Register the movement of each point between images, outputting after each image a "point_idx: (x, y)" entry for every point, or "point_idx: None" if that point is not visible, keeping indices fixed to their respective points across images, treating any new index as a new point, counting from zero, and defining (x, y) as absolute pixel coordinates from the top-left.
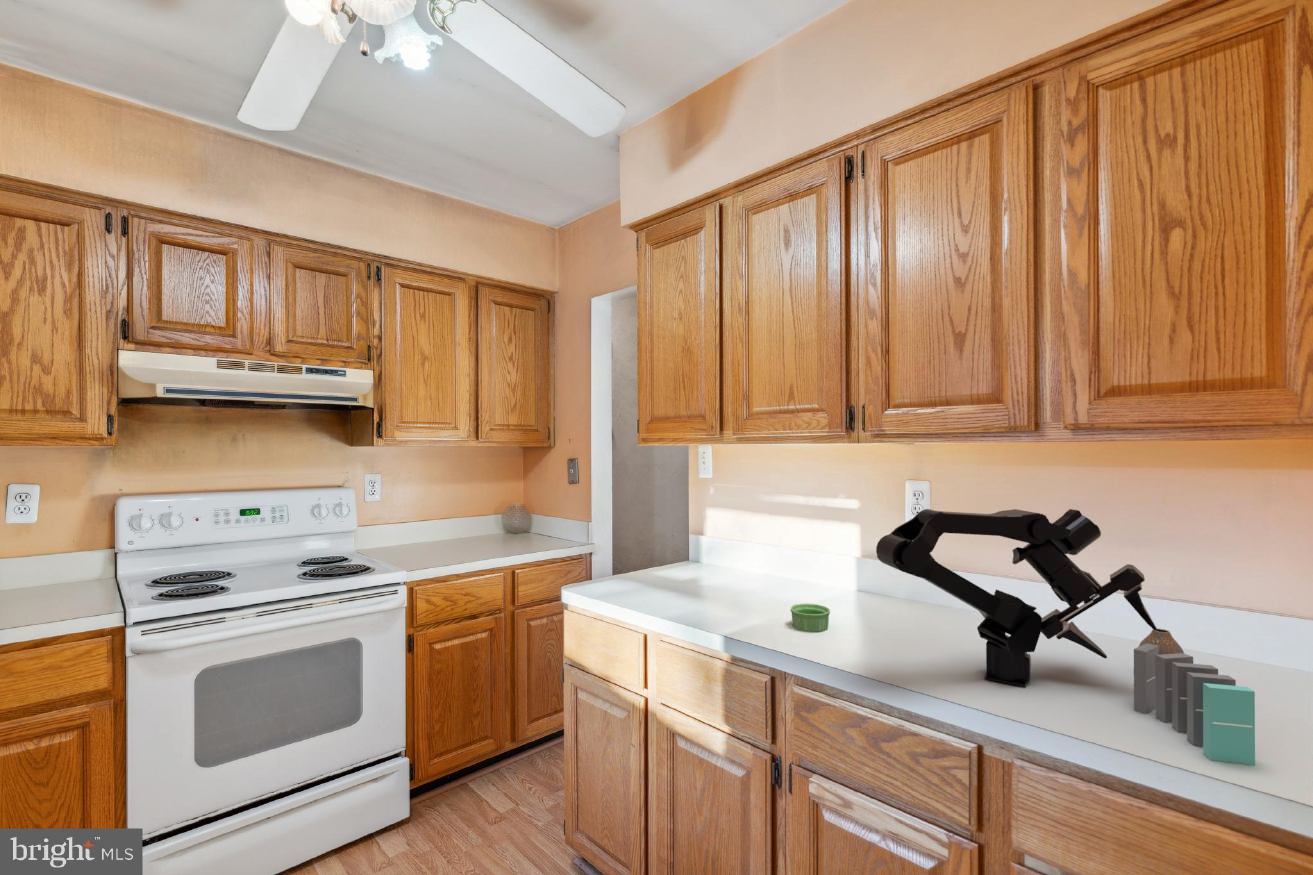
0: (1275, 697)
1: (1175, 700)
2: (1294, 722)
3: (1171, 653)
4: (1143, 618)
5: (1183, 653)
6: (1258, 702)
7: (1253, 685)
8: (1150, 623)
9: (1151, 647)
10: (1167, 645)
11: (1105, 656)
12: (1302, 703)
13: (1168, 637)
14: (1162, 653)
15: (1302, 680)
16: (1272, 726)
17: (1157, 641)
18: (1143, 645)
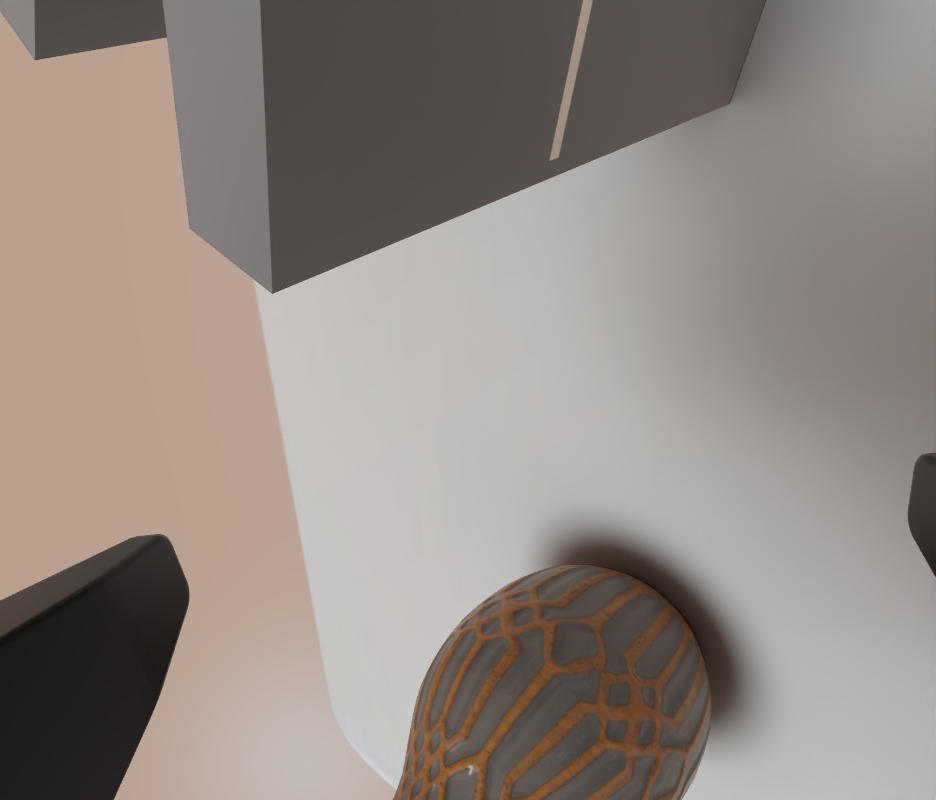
0: (331, 486)
1: None
2: None
3: (457, 659)
4: (16, 629)
5: (29, 46)
6: (349, 413)
7: (383, 590)
8: (72, 571)
9: (190, 87)
10: (442, 719)
11: (933, 455)
12: (285, 453)
13: (406, 781)
14: (499, 669)
15: (321, 650)
16: None
17: (475, 770)
18: (252, 127)
